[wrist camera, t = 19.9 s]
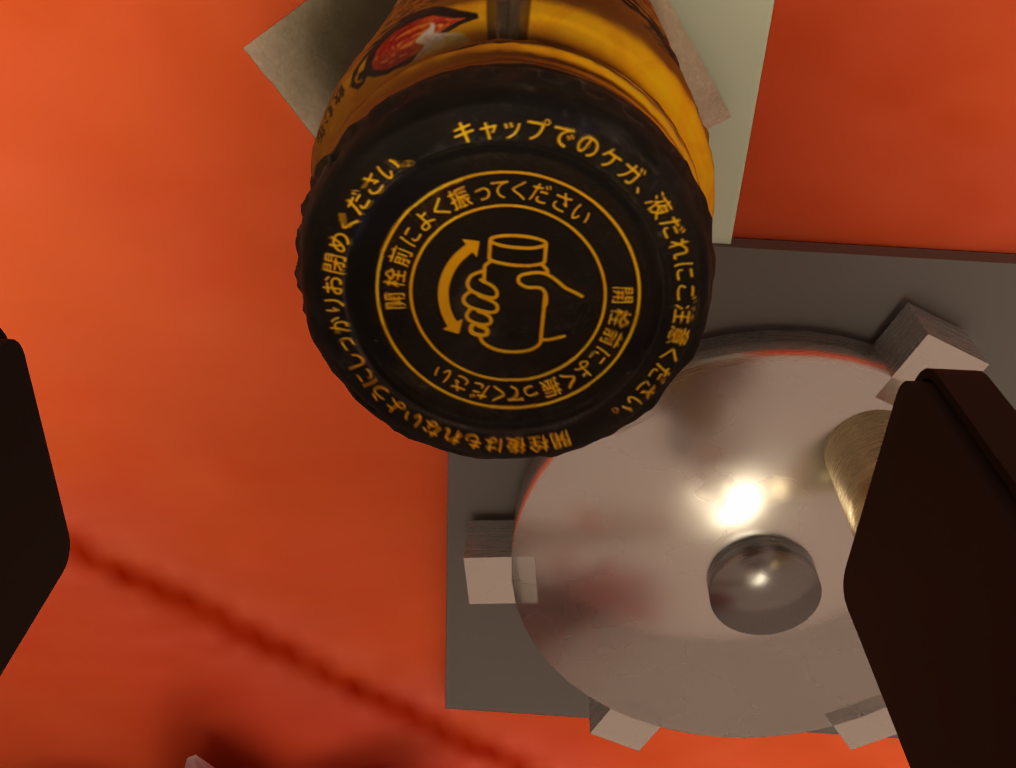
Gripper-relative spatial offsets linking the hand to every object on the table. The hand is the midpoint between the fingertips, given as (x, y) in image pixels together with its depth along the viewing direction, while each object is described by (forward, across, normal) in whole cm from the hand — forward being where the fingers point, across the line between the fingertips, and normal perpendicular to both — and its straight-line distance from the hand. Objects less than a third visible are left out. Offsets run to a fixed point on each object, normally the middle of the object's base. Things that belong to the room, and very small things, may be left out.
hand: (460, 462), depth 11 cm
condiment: (+14, 0, -1) cm, 14 cm away
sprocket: (+15, -8, +12) cm, 21 cm away
